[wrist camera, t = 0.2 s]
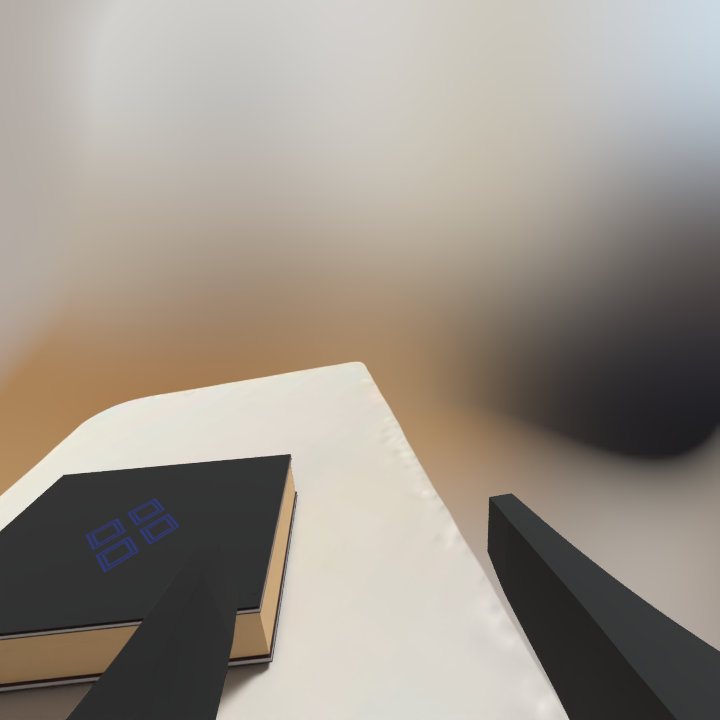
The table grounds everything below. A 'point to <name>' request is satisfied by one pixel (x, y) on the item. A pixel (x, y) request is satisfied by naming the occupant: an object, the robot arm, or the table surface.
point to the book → (137, 561)
